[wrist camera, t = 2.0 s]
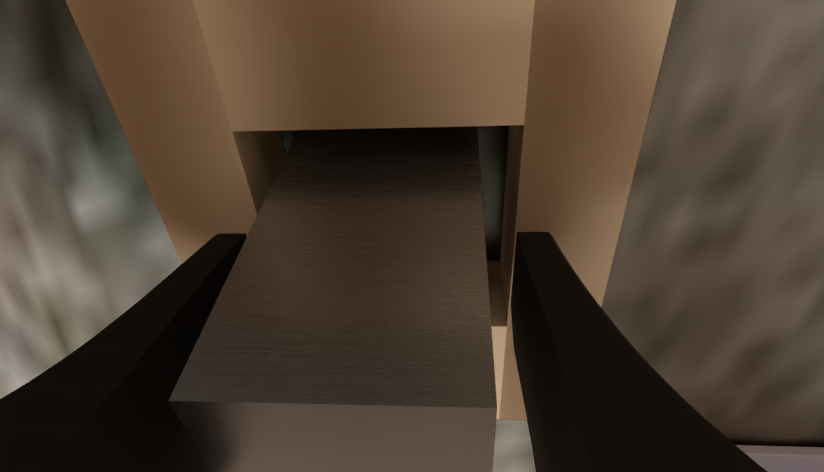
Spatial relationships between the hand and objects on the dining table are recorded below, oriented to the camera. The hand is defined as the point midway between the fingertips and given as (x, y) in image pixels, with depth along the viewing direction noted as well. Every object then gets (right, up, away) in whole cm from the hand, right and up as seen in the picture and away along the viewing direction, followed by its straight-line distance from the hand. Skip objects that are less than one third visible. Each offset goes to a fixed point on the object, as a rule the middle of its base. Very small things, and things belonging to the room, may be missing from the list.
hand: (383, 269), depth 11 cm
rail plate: (0, +2, +3) cm, 3 cm away
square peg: (0, +2, +3) cm, 3 cm away
